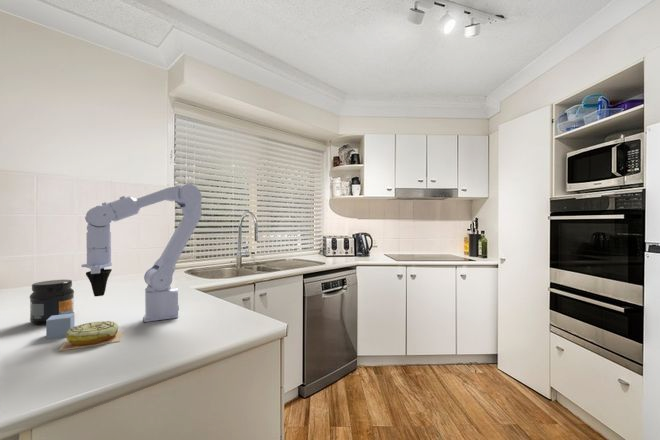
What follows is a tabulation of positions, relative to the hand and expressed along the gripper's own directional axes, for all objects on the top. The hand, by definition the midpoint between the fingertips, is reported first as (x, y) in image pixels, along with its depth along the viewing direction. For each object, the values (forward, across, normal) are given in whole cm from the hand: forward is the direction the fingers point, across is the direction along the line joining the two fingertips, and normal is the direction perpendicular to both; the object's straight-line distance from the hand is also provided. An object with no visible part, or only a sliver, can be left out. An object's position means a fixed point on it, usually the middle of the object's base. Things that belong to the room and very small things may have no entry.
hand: (99, 295), depth 93 cm
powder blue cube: (+10, +1, -8) cm, 13 cm away
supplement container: (+10, -17, -14) cm, 24 cm away
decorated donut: (+9, +11, 0) cm, 14 cm away
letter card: (+9, +11, 0) cm, 14 cm away
